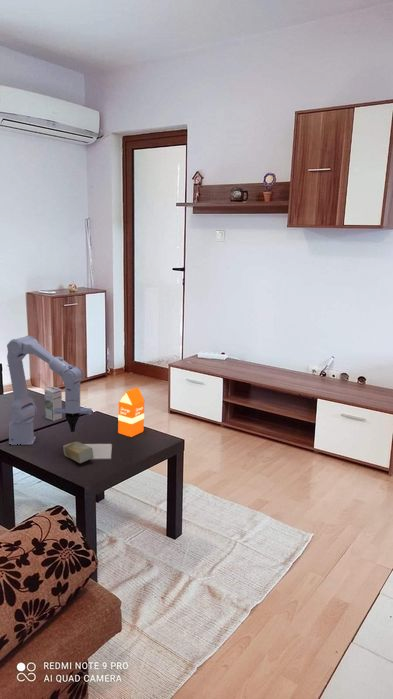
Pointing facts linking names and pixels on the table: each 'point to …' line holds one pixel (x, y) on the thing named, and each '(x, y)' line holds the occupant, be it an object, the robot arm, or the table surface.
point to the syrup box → (53, 403)
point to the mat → (101, 451)
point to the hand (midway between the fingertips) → (72, 431)
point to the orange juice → (131, 413)
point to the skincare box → (78, 451)
